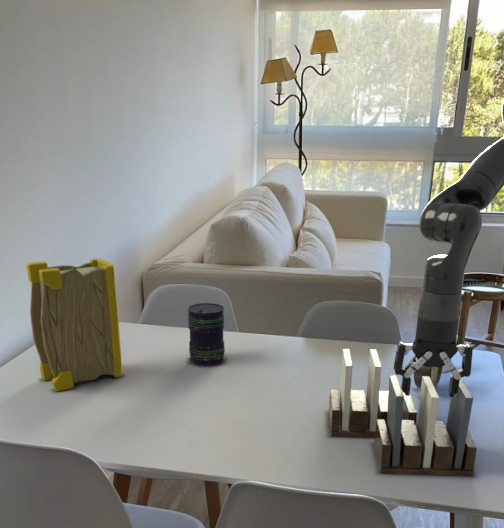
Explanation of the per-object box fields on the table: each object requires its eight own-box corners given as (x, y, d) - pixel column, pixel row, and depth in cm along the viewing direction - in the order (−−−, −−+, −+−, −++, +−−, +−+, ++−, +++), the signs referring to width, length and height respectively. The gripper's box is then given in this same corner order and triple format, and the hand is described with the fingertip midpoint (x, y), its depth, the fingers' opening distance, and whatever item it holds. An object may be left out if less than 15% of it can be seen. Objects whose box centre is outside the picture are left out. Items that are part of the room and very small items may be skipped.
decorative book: (109, 364, 193) (99, 253, 180) (126, 376, 185) (117, 261, 172) (37, 379, 183) (21, 263, 170) (52, 393, 175) (36, 272, 162)
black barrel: (200, 352, 203) (198, 301, 196) (230, 357, 199) (230, 305, 193) (183, 363, 195) (180, 310, 188) (214, 368, 191) (213, 314, 184)
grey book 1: (392, 442, 149) (396, 375, 142) (399, 466, 139) (403, 396, 132) (385, 442, 149) (389, 375, 142) (392, 466, 139) (396, 396, 132)
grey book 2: (450, 443, 148) (461, 377, 141) (461, 469, 138) (473, 398, 132) (443, 443, 148) (454, 376, 142) (453, 468, 138) (465, 398, 132)
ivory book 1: (345, 410, 164) (349, 348, 157) (348, 430, 154) (352, 365, 147) (339, 410, 164) (342, 348, 157) (341, 430, 154) (345, 365, 147)
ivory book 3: (421, 443, 148) (429, 376, 142) (430, 468, 138) (439, 397, 132) (414, 442, 148) (422, 376, 142) (422, 467, 139) (431, 397, 132)
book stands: (445, 415, 164) (448, 391, 161) (473, 476, 138) (477, 448, 135) (328, 412, 165) (330, 388, 162) (334, 471, 139) (336, 444, 136)
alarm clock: (428, 400, 171) (436, 336, 164) (407, 396, 174) (413, 333, 167) (441, 386, 180) (449, 324, 173) (420, 382, 182) (427, 321, 175)
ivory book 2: (371, 411, 163) (376, 349, 157) (375, 431, 153) (381, 366, 147) (365, 411, 163) (370, 349, 157) (369, 431, 153) (374, 366, 147)
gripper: (473, 309, 134) (461, 389, 141) (397, 307, 134) (389, 386, 142) (482, 321, 127) (469, 403, 134) (402, 318, 128) (394, 401, 135)
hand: (428, 394), depth 138 cm, fingers open, 8 cm apart
